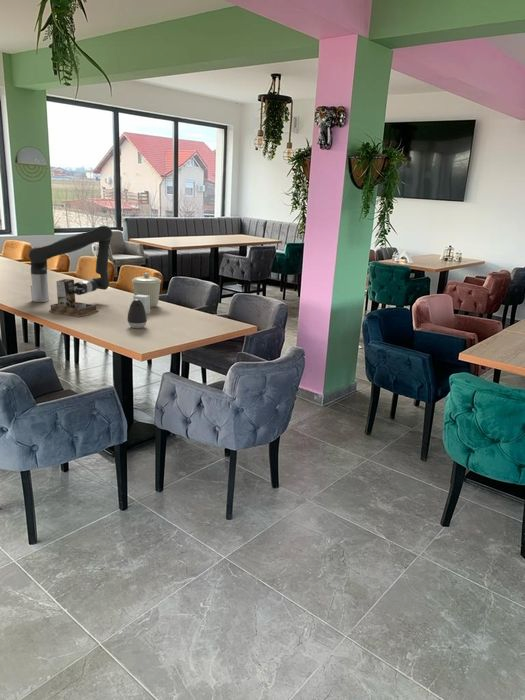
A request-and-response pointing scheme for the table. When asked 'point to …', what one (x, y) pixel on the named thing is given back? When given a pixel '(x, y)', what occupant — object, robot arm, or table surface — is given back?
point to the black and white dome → (137, 315)
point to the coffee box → (65, 292)
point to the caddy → (74, 309)
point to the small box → (144, 301)
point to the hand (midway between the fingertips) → (63, 292)
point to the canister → (147, 288)
